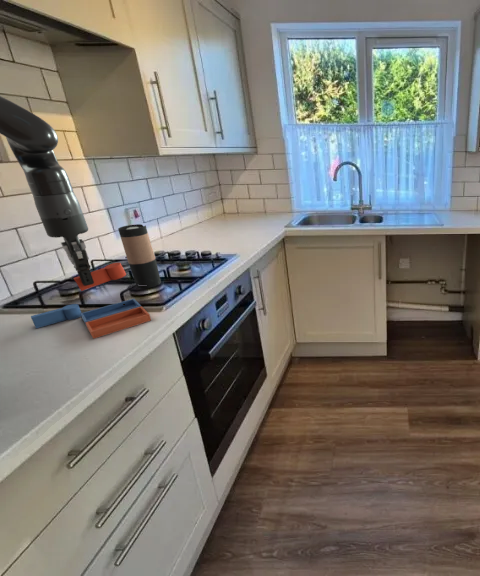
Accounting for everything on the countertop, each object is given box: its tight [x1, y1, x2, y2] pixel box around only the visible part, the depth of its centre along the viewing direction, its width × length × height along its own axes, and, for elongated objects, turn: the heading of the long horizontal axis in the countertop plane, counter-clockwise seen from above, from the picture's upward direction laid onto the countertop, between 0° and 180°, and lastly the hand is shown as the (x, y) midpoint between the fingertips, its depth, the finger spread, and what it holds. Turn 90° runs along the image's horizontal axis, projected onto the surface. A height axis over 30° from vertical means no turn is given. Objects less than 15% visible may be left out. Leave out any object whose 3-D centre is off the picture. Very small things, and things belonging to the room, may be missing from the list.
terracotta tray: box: [85, 305, 152, 339], centre depth 96 cm, size 13×8×2 cm, turn 136°
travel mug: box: [117, 223, 162, 290], centre depth 119 cm, size 8×8×20 cm
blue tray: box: [80, 298, 142, 328], centre depth 102 cm, size 13×8×2 cm, turn 136°
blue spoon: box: [30, 303, 82, 329], centre depth 99 cm, size 10×4×3 cm, turn 136°
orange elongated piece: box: [73, 262, 127, 292], centre depth 91 cm, size 10×4×3 cm, turn 135°
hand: (88, 283), depth 89 cm, fingers closed on orange elongated piece, 1 cm apart
